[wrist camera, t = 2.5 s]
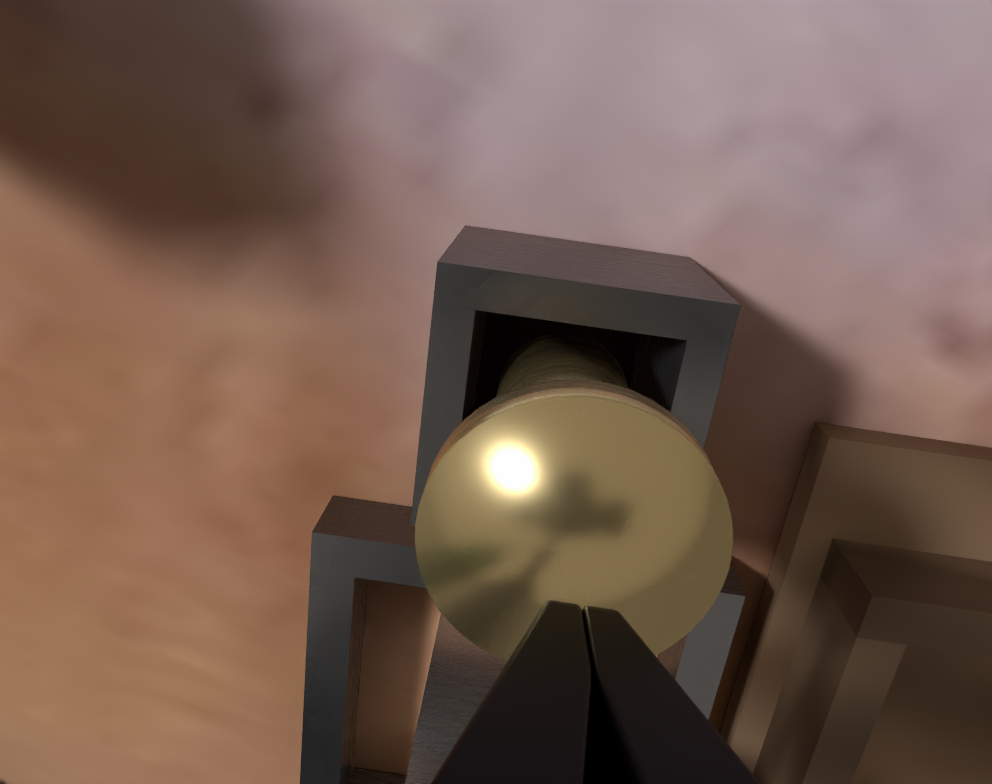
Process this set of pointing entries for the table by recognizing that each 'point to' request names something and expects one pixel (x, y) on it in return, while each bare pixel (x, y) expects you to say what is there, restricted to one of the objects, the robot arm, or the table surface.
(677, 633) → the pin
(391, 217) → the table surface
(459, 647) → the brushed grey square post
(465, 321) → the socket block
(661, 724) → the robot arm
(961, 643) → the brown open tray
